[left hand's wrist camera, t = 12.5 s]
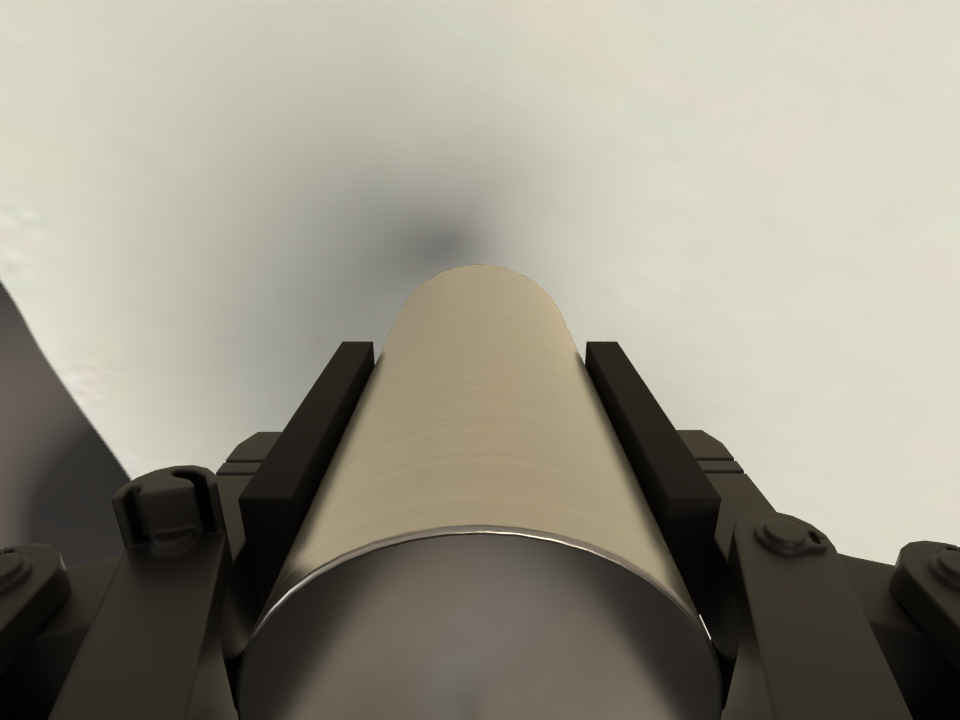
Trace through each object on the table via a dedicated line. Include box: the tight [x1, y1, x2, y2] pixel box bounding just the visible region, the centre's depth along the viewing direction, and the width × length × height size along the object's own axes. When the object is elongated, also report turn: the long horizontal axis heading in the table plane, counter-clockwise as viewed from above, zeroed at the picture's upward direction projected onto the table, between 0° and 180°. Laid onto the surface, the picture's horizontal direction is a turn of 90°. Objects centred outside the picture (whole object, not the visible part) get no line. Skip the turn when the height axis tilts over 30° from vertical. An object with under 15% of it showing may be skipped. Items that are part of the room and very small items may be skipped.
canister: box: [236, 265, 723, 720], centre depth 11 cm, size 5×5×12 cm
